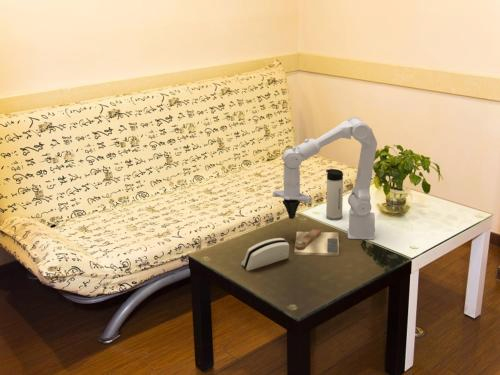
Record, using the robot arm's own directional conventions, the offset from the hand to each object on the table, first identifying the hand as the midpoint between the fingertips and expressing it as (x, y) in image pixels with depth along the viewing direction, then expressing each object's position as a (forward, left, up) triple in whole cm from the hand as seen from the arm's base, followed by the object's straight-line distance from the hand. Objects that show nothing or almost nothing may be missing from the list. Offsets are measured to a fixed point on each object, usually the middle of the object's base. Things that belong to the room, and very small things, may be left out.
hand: (292, 217), depth 213 cm
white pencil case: (+8, +18, -9) cm, 22 cm away
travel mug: (-15, -22, -9) cm, 28 cm away
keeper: (-15, +9, -9) cm, 19 cm away
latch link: (-6, +3, -8) cm, 10 cm away
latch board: (-9, +3, -9) cm, 13 cm away
